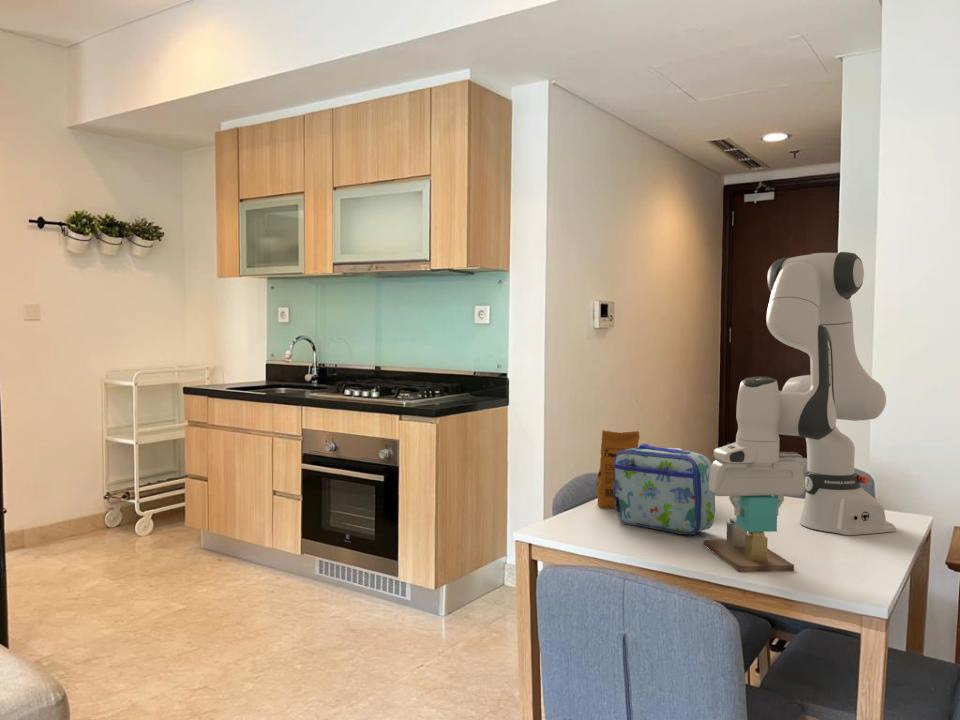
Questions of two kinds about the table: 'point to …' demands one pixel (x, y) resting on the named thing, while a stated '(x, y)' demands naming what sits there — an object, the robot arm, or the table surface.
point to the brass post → (756, 546)
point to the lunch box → (663, 489)
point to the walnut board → (742, 563)
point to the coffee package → (612, 463)
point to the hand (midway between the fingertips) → (756, 515)
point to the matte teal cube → (758, 513)
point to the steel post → (735, 534)
